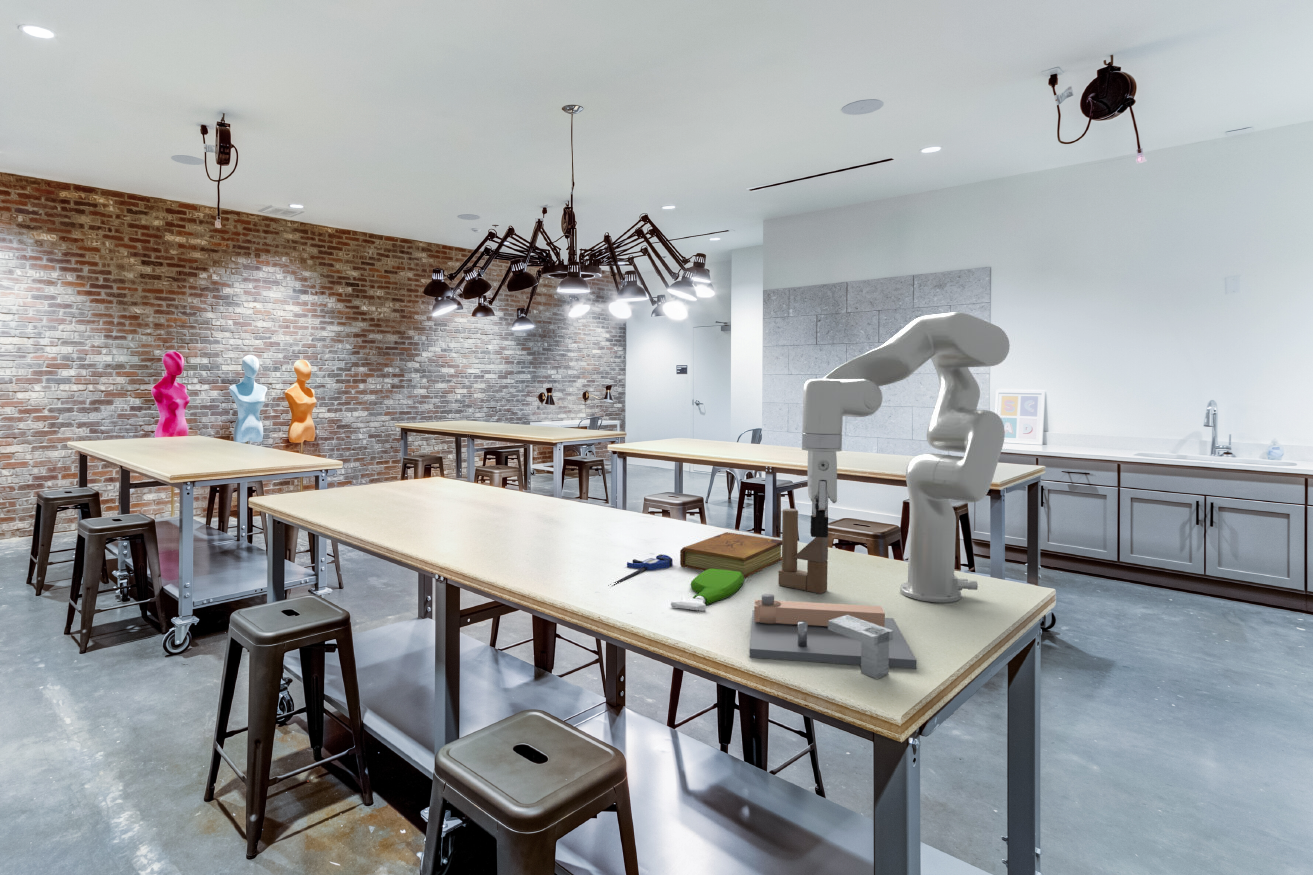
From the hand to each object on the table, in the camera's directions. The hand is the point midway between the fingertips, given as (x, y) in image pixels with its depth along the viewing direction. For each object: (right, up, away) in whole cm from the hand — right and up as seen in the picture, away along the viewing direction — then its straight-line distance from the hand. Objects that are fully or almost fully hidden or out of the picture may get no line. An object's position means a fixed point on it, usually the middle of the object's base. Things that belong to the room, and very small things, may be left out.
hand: (818, 536), depth 126 cm
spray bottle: (-20, -17, +19) cm, 32 cm away
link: (-1, -15, -5) cm, 16 cm away
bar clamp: (-39, -16, +33) cm, 53 cm away
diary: (-11, -15, +46) cm, 49 cm away
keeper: (-1, -18, -18) cm, 26 cm away
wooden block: (+2, -16, +23) cm, 28 cm away
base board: (-1, -18, -9) cm, 20 cm away
